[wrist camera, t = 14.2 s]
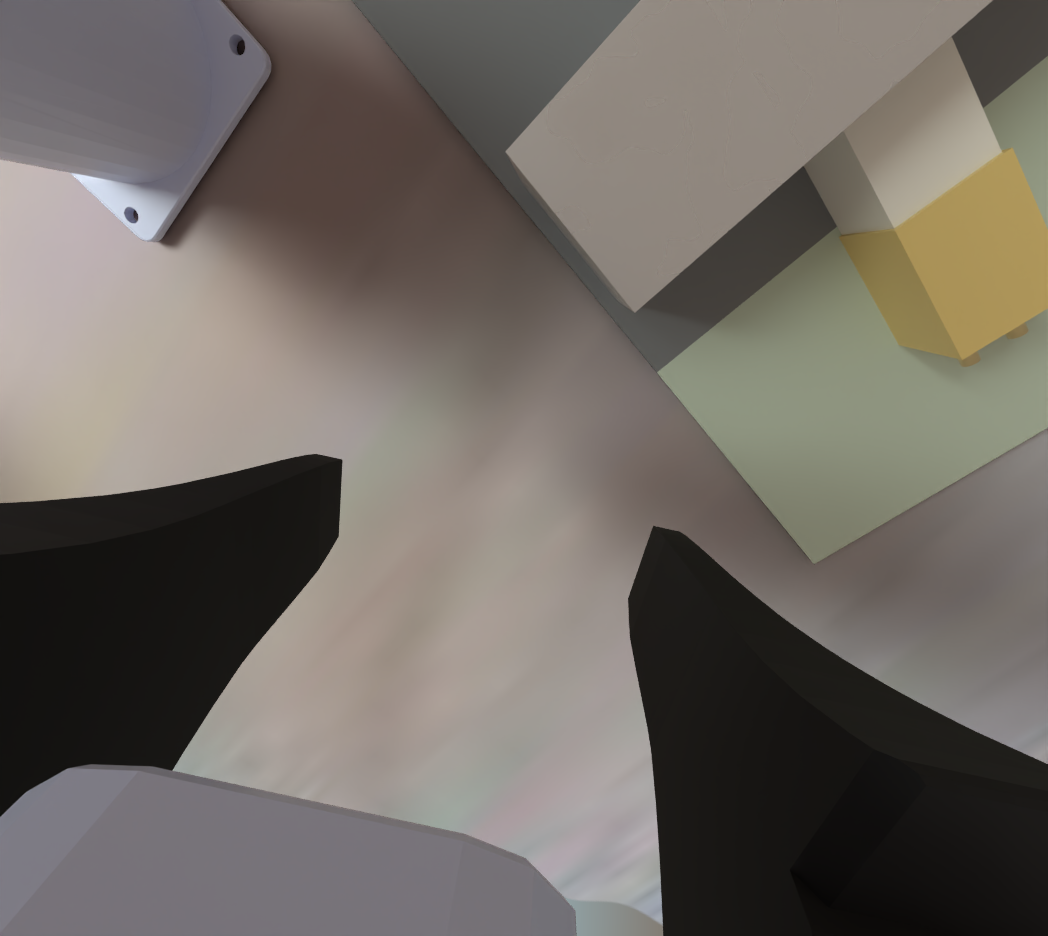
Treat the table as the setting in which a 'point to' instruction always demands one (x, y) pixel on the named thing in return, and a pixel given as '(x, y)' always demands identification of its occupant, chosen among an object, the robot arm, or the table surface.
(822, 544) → the mat
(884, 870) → the robot arm
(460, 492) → the table surface
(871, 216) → the plug
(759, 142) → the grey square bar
